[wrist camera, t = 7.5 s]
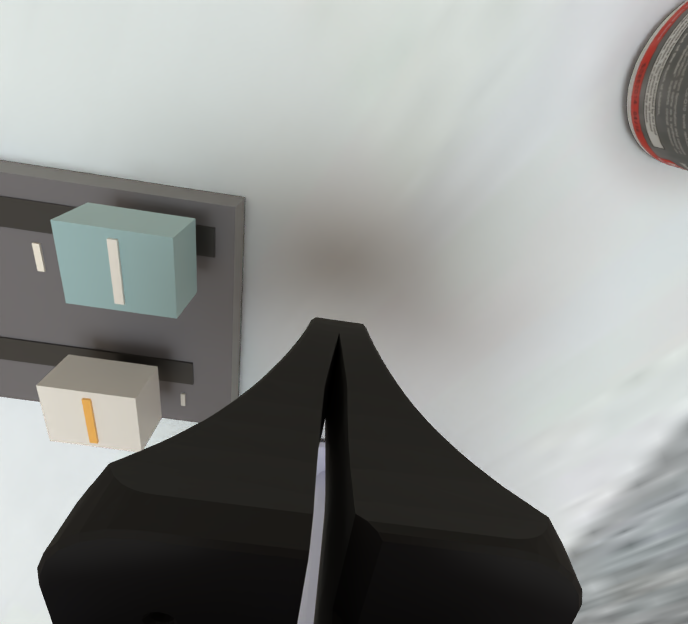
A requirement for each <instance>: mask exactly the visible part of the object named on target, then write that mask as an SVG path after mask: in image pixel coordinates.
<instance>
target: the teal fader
mask: <svg viewBox="0 0 688 624" xmlns="http://www.w3.org/2000/svg"><path fill="white" fill-rule="evenodd" d="M50 221H51V226H52V232H53V237H54V242H55V248H56V253H57V258H58V263H59V269H60V274H61V279H62V285H63V290H64V295H65V301H66V303H69V304H76V305H83V306H90V307H97V308H105V309H112V310H119V311H126V312H133V313H140V314H147V315H155V316H162V317H169V318H176V319H177V318H178V317H179V315H180V314H181V313H182V311H183V310H184V309H185V307H186V306H187V305H188V303H189V302H190V301H191V299H192V298H193V297H194V295H195V294H196V293H197V265H196V221H195V218H189V217H182V216H175V215H169V214H162V213H155V212H149V211H142V210H135V209H128V208H122V207H115V206H108V205H102V204H95V203H86V204H83V205H81V206H79V207H77V208H75V209H73V210H70V211H68V212H66V213H64V214H62V215H60V216H58V217H55V218H53V219H51V220H50Z"/></svg>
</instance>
